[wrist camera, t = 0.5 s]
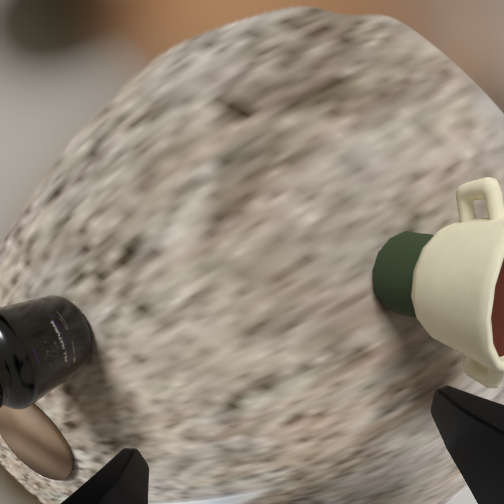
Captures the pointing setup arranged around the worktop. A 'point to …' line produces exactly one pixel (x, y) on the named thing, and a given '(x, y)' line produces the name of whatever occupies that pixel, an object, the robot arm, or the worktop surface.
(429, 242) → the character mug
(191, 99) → the worktop surface
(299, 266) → the worktop surface
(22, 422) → the walnut trivet
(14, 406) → the supplement bottle
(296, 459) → the worktop surface
